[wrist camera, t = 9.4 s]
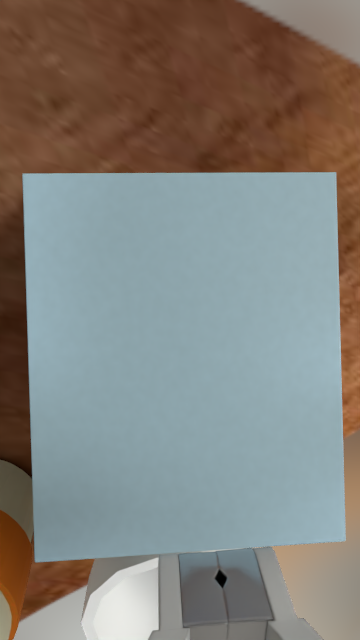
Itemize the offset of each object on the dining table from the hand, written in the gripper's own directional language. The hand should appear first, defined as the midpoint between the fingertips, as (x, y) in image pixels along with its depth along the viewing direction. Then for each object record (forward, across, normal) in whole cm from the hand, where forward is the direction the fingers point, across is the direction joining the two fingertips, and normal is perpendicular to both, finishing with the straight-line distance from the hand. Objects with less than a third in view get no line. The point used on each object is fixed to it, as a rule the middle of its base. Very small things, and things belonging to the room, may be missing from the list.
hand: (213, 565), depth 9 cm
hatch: (+8, 0, -2) cm, 8 cm away
